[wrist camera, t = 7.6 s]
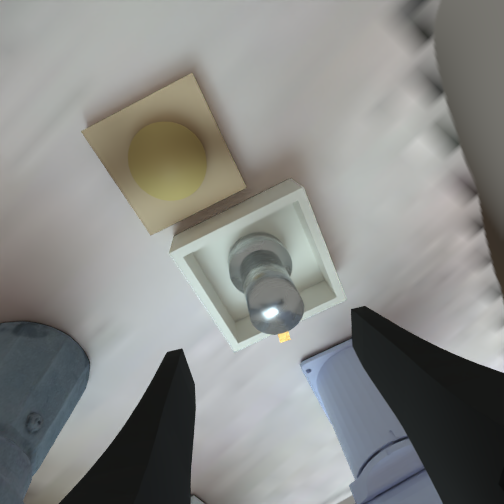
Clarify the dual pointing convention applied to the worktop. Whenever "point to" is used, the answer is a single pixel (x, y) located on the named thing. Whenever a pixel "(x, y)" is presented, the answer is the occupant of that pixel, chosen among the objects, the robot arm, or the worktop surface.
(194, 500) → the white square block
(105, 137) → the stud block
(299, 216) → the tray
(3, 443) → the moka pot
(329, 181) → the worktop surface
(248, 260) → the coffee tamper
